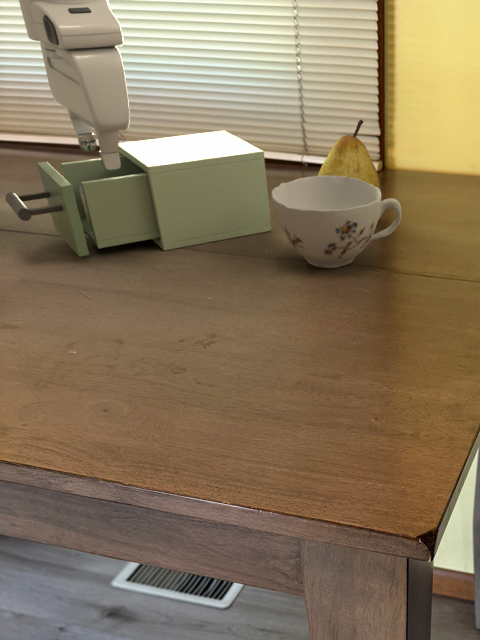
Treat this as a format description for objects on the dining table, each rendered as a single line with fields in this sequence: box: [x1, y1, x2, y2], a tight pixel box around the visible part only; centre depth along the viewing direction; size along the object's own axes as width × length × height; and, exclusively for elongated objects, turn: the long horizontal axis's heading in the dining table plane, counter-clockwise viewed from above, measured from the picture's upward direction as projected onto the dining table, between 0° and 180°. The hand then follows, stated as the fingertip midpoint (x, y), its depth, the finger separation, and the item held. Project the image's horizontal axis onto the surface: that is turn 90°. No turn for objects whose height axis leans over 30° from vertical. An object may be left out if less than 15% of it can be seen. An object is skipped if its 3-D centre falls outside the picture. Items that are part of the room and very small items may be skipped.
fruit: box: [317, 119, 381, 190], centre depth 99 cm, size 9×9×12 cm
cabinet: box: [118, 130, 272, 252], centre depth 97 cm, size 15×13×10 cm
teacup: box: [271, 175, 402, 269], centre depth 89 cm, size 15×12×8 cm
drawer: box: [4, 155, 160, 258], centre depth 92 cm, size 18×11×8 cm, turn 123°
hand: (100, 158), depth 90 cm, fingers open, 8 cm apart
